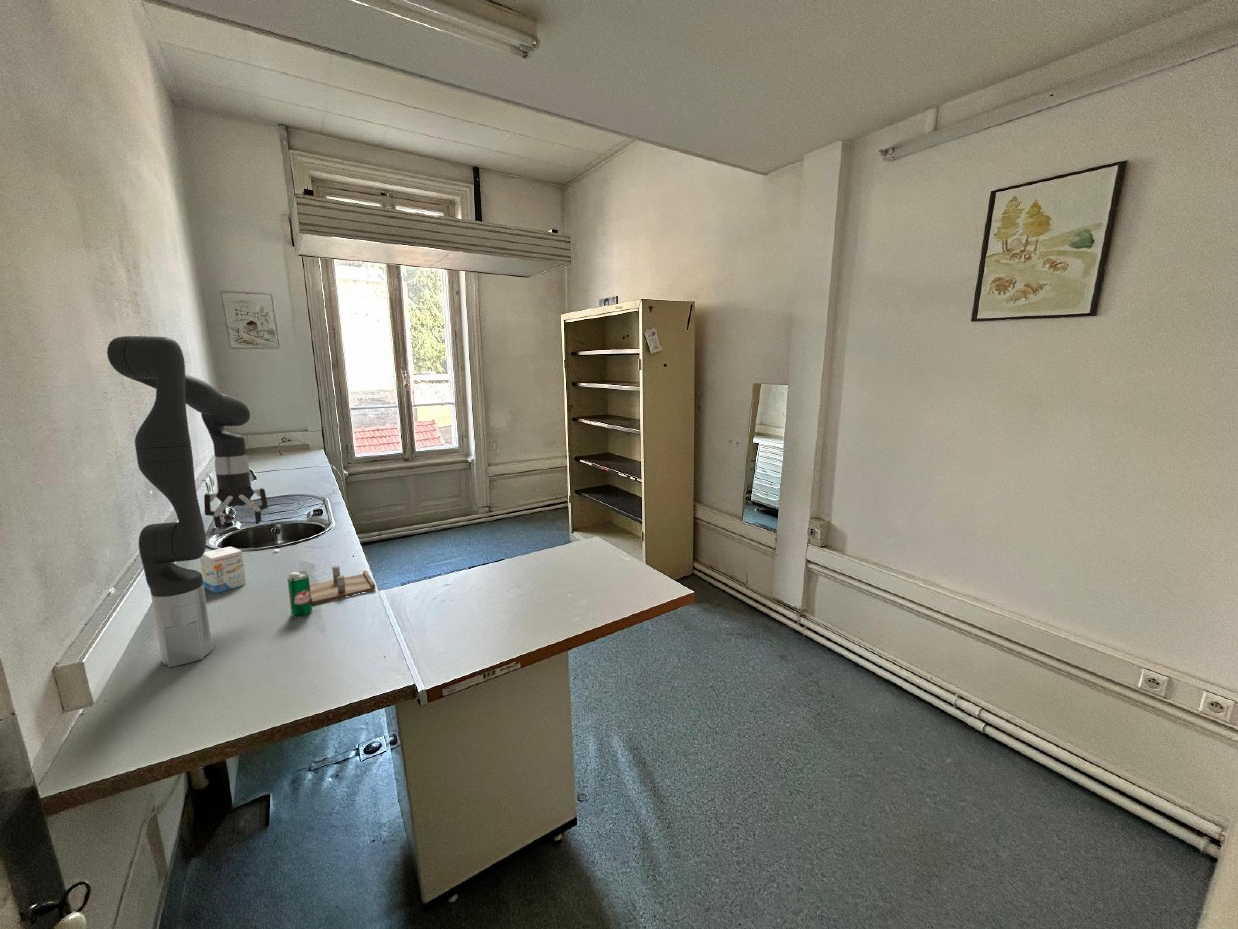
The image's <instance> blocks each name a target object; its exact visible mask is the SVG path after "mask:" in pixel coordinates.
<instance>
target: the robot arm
mask: <svg viewBox="0 0 1238 929" xmlns="http://www.w3.org/2000/svg"><path fill="white" fill-rule="evenodd" d="M106 352H107V353H106V354H107V359H108V361H109V363H110V365H111V367H112V368H113V369H114V370H115V371H116V372H117V373H119V374H120V375H122V376H123V377H125V378H129V379H131V380H133V381H135V382H138V383H142V384H144V385H146V386H148V387H151V388H153V389H155V391H156V393H155V400H154V403H153V406H152V408H151V410H150V412H149V413H148V414H147V416H146V417H145V419H144V421H143V422H142V424H140V427H139V428H138V431H137V432H136V434H135V439H134V447H135V453H136V458H137V459H136V460H137V464H138V469H139V471H140V472H141V473H142V475H143V476H144V477H145V478H146V479H147V480H148V482H150V483H151V485H152V486H154V487H155V488H156V489H157V491H159V492H160V493H162V495H164V497H165V498H166V499H167V500H168V501H169V503H170V504H171V506H172V507H173V509H174V511H175V515H176V517H177V521H174V522H160V523H151V524H148V525H146V526H144V527H143V528H142V530H141V532H140V533H139V536H138V550H139V551H138V552H139V555H140V560H141V563H142V567H143V571H144V575H145V580H146V584H147V586H148V588H149V590H150V597H151V601H152V609H153V614H154V615H153V616H154V620H155V626H156V632H157V638H158V646H159V650H160V657H161V663H162V664H163V665H165V666H167V667H168V668H175V667H177V666H182V665H185V664H189V663H193V662H197V661H201V660H204V658H205V657H206V656H207V655H210V653H211V652H213V646H214V645H213V640H212V633H211V627H210V621H209V620H210V619H209V614H208V606H207V600H206V593H205V588H204V585H203V577H202V572H200V571H198V570H195V569H190V568H185V567H183V566H179V565H177V564H176V563H177V562H179V563H180V562H189V561H194V560H195V561H196V560H198V559H199V560H200V557H202V556H203V554H204V552H206V547H207V535H206V530H205V526H204V520H203V516H202V513H201V508H200V503H199V498H198V493H197V489H196V487H197V486H196V480H195V469H194V468H195V467H194V456H193V451H192V449H193V448H192V442H191V437H190V431H189V422H188V414H187V406H189V407H191V408H192V409H193V410H195V411H197V412H198V413H200V415H201V418H202V421H203V422H202V423H204V425H205V427H206V429H207V431H208V434H209V436H210V438H211V441H212V443H213V451H214V471H215V477H216V486H217V492H216V493H208V492H206V493H204V496H203V499H204V500H203V502H204V514H205V516H211V517H213V521H214V527H215V528H218V530H221V529H223V525H222V517H221V513H222V512H223V511H224V510H225V509H226V507H231V508H232V507H238V506H239V507H241V506H243V507H244V506H245V505H247V506H249V507H250V508H252V509H253V510H254V518H255V519H254V520H255V525H259V523H260V522H262V513H261V512H262V510H265V509H268V500H267V496H266V491H265V488H264V487H261V488H258V489H253V488H252V483H251V475H250V474H251V473H250V466H249V460H248V456H247V448H246V442H245V437H244V436H242V435H241V434H237V433H232V432H229V431H228V430H227V429H226V427H240V426H243V425H245V424H247V423H248V422H249V421H250V417H251V412H250V409H249V407H248V406H247V405H246V404H245V403H244V402H243V401H241V400H239V399H238V398H236V397H234V396H230V395H228V394H226V393H222V392H220V391H218V390H217V389H216V388H214V387H213V386H212V385H211V384H209V383H208V382H206V381H204V380H202V379H201V378H199V377H195V376H192V375H189V374H187V373H186V365H185V364H186V363H185V356H184V353H183V350H182V348H181V346H180V344H179V343H178V342H177V341H176V340H175V339H174V338H172V337H168V336H148V335H147V336H143V335H139V336H138V335H127V336H118V337H116V338H113V339H112V340H111V341H110V342H109V343H108V346H107V350H106ZM254 494H256V495H257V497H260V502H261V504H259V505H258V504H257V503H256V502H255V501H254V500H252V499H251V498H252V497H253V496H254ZM215 498H217V499H218V500H219V501H221V502H220V503H219V504H218V506H217V508H216V509H215V510H211V508H212V507H211V503H212V502H214V500H215Z"/></svg>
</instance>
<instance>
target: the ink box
mask: <svg viewBox="0 0 1238 929" xmlns="http://www.w3.org/2000/svg"><path fill="white" fill-rule="evenodd" d="M243 558H244V557H243V551H242V550H240V549H238V548H236V547H233V546H226V547H222V548H217V549H212V550H209V551H205V552H204V554H203V556H202V557H200V558H199V562H200V569H201V574H202V577H203V585H204V590H205V589H206V590H207V591H210V592H211V593H214V594H219V593H222V592H225V591H229V590H232V589H235V588H238V587H241V586H244V585H247V581H246V574H245V573H246V572H245V564H244V559H243Z"/></svg>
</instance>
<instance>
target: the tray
mask: <svg viewBox="0 0 1238 929" xmlns="http://www.w3.org/2000/svg"><path fill="white" fill-rule="evenodd" d="M374 589H375V590H374ZM375 591H376V584H375V583H374V580H373V579H372V577H371V576H370V574H369V573H368V571H367V570H362V574H355V575H351V576H346V577H345V575H341V570H340V566H339V565H336V566H332V580H327V581H323V582H318V583H312V584H310V592H311V602H312V606H315V605H319V604H323V603H329V602H332V600H333V601H337V600H336V599H338V600H342V599H345V598H344V597H346V596H351V597H353V596H352V595H354V594H358V593H362V592H368V593H372V592H375ZM341 598H342V599H341Z"/></svg>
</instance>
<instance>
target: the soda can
mask: <svg viewBox="0 0 1238 929" xmlns="http://www.w3.org/2000/svg"><path fill="white" fill-rule="evenodd" d="M310 585H311V584H310V575H309V574H308V571H306V570H299V571H294V572H292V573H291V572H290V573H289V575H288V578H287V588H288V596H289V605H290V613H291V615H292V616H294V617H296V618H298V617H304V616H305V617H306V616H307V615H309V614H310V613H312V611H313V605H312V602H311V592H310Z"/></svg>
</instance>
